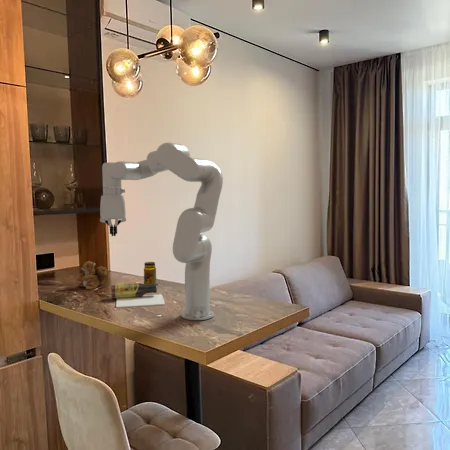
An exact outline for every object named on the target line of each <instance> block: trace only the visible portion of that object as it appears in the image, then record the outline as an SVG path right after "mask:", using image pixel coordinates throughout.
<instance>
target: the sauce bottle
mask: <svg viewBox="0 0 450 450" xmlns="http://www.w3.org/2000/svg"><path fill="white" fill-rule="evenodd" d="M110 287H111V288H110V291H111V298H112V299H113V300H114V299H116V300H117V298H129V297H138V296H143V295H147V294H157V293H158V291H157V288H158V286H156V284H153V285H145V284H144V283H142V282H141V283H140V282H131V283H116V284H112V285H111V286H110Z"/></svg>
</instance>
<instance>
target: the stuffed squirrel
mask: <svg viewBox="0 0 450 450" xmlns="http://www.w3.org/2000/svg"><path fill="white" fill-rule="evenodd" d="M95 266H96V263H95V262H93V261H90V260H88V261H85V262H84V263H83V264H82V265H81V267H80V270H81V271H83V272H82V273H79V274H78V278H79V279H81V280H82V282H78V284H77V287H78V286H79V287H82V288H85V290H87V289H89V290H93V288H94V289H96V288H97V287H101V286H103V285H104V284H105V283H106V277H108V275H109V272H110V271H109V269H108V268H107V267H105V266H102V265H101V266H97V267H96V268H95ZM79 287H78V288H79Z"/></svg>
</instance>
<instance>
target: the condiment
mask: <svg viewBox="0 0 450 450" xmlns="http://www.w3.org/2000/svg"><path fill="white" fill-rule="evenodd" d="M143 284H145V285H153V284H156V286H157V287H158V286H159V284H160V283H159V282H157V268H156V262H154V261H145V262H144V268H143Z"/></svg>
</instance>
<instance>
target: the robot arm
mask: <svg viewBox="0 0 450 450" xmlns="http://www.w3.org/2000/svg"><path fill="white" fill-rule="evenodd" d="M190 153H191V152H190V150H189V149H188V148H187V147H186V146H185V145H183V144H179V143H173V142H164V143H162V144H160V145H159V146H158V147H157V149H156V150H154V151H153V150H152V151H150V152H149V153H148V154H147V156H146V159H143V160H140V161H136V162H135V161H125V160H124V161H121V160H119V161H116V162H104V163H103V164H102V166H101V169H102V170H101V171H102V172H101V174H102V195H100V203H99V204H100V206H99V207H100V208H99V210H100V211H99V212H100V213H99V215H100V218H99V222H101V223H104V224H106V226H107V225H108V226H109V234H110V235H111V237H116V235H117V234H118V226H119V225H120V224H121V223H124V222H126V221H127V218H126V202H125V196H124V195H122V194H124V193H126V190H125V189H123V188H122V181H139V180H143V179H147V178H150V177H153V176H155V175H157V174H159V173H162V172H166V171H169V172H171V173H173V174H174V175H175V176H177V177H179V178H180V179H182V180H183V181H185V182H192V183H201V185H200V187H199V189H198V191H197V193H196V196H195V197H196V198H195V202H194V206H193V207H190V208H189V207H188V208H186V209H184V211H182V212H181V214H180V215H179V217H178V219H177V222H176V229H175V232H174V238H173V243H172V253H173V257H174V259H175V260H177V261H178V262H179V263H182V264H185V266H184V305H185V306H184V310H182V311H181V313H180V317H181V318H183V319H184V320H189V321H205V320H208V319H211V318H213V317H214V316H215V313H214V311H213V310H212V309H211V303H210V302H211V299H210V297H211V293H210V291H211V288H210V287H211V286H210V285H211V284H210V283H211V282H210V281H211V280H210V279H211V277H210V275H211V274H210V270H211V257H212V252H213V251H212V250H213V246H212V242H211V240H210V239H209V238H208V236H206V235H205V234H203V233H206V232H209V231H211V230H212V228H214V224H215V220H216V215H217V211H218V206H219V200H220V196H221V193H222V189H223V184H224V182H223V181H224V180H223V179H224V177H223V174H222V170H221V169H220V168H219V166H218V165H217V164H216V163H215V162H213V161H211V160H209V159H204V158H196V157H191V154H190ZM112 220H115V221H114V224H113V223H112Z"/></svg>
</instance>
